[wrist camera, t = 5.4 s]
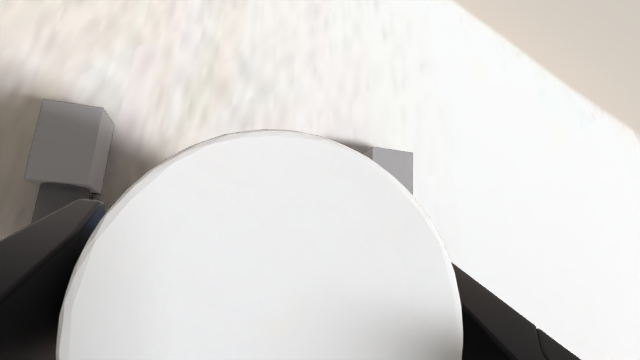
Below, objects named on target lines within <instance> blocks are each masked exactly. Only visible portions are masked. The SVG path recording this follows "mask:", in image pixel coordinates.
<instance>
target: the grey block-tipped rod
mask: <svg viewBox="0 0 640 360" xmlns="http://www.w3.org/2000/svg"><path fill="white" fill-rule="evenodd" d="M363 155H365V156H367V157H368V158H370V159H371V160H373V161H374V162H376V163H377V164H378V165H380V166H381V167H382V168H383V169H385V170H386V171H387V172H389V173H390V174H391V175H392V176H394V177H395V178H396V179H397V180H398V181H399V182H400V183H401V184H402V185H403V186H404V187H405V188H406V189H407V190H408V191H409V192H410V193H411V194H412V195H413V153H411V152H405V151H398V150H392V149H385V148H379V147H372V148H370V149H369V150H368V151H366V152H365V153H363Z"/></svg>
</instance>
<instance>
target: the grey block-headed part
mask: <svg viewBox="0 0 640 360" xmlns="http://www.w3.org/2000/svg"><path fill="white" fill-rule="evenodd" d="M113 129H114V123H113V121H112V120H111V118H110V117H109V116H108V114H107V113H106V111H105V110H104V108H102V107H95V106H88V105H81V104H74V103H67V102H60V101H54V100H47V99H43V102H42V106H41V110H40V114H39V119H38V123H37V127H36V131H35V135H34V139H33V143H32V147H31V151H30V155H29V159H28V163H27V168H26V172H25V176H24V179H26V180H29V181H31V182H33V183H35V184H37V185H39V186H40V188H39V193H38V197H37V201H36V206H35V210H34V214H33V218H32V223H31V224H33V223H34V222H36V221H38V220H40V219H42V218H44V217H46V216H48V215H50V214H51V213H53V212H55V211H57V210H59V209H61V208H63V207H65V206H66V205H68V204H70V203H72V202H74V201H76V200H78V199H89V195H90V193H98V194H101V191H102V186H103V181H104V176H105V171H106V166H107V160H108V155H109V150H110V145H111V140H112V135H113Z"/></svg>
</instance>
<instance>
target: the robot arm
mask: <svg viewBox="0 0 640 360" xmlns="http://www.w3.org/2000/svg"><path fill="white" fill-rule="evenodd" d="M104 215H105V208H104V204H103V202H102V201H100V200H90V199H78V200H76V201H74V202H72V203H70V204H68V205H66V206H65V207H63V208H61V209H59V210H57V211H55V212H53V213H51V214H50V215H48V216H46V217H44V218H42V219H40V220H38V221H36V222H34V223H33V224H31V225H29V226H27V227H25V228H23V229H21V230H19V231H17V232H16V233H14V234H12V235H10V236H8V237H6V238H4V239H2V240H1V241H0V360H56V343H57V333H58V324H59V315H60V311H61V307H62V304H63V300H64V297H65V293H66V290H67V287H68V284H69V281H70V278H71V275H72V273H73V270H74V267H75V265H76V263H77V261H78V259H79V257H80V255H81V253H82V251H83V249H84V247H85V245H86V243H87V241H88V239H89V238H90V236H91V234H92V233H93V231H94V230H95V228H96V227H97V225H98V223H99V222H100V220H101V219H102V218H103V216H104ZM451 264H452V267H453V270H454V272H455V277H456V282H457V287H458V292H459V297H460V302H461V309H462V324H463V349H462V360H581V359H579V358H578V357H577V356H575V355H574V354H573V353H571V352H570V351H568V350H567V349H566V348H564V347H563V346H562V345H560V344H559V343H558V342H556V341H555V340H554V339H552V338H551V337H550V336H548V335H547V334H546V333H544V332H543V331H542V330H540V329H536V326H535V325H534V324H532V323H531V322H530V321H528V320H527V319H526V318H524V317H523V316H522V315H520V314H519V313H518V312H516V311H515V310H514V309H512V308H511V307H510V306H509V305H507V304H506V303H505V302H503V301H502V300H501V299H499V298H498V297H497V296H495V295H494V294H493V293H491V292H490V291H489V290H487V289H486V288H485V287H483V286H482V285H481V284H479V283H478V282H477V281H475V280H474V279H473V278H471V277H470V276H469V275H468V274H466V273H465V272H464V271H462V270H461V269H460V268H458V267H457V266H456V265H454V264H453V263H452V262H451Z"/></svg>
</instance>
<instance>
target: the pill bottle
mask: <svg viewBox="0 0 640 360" xmlns="http://www.w3.org/2000/svg"><path fill="white" fill-rule="evenodd" d="M462 349H463V324H462V309H461V302H460V297H459V292H458V287H457V282H456V277H455V272H454V270H453V267H452V264H451V261H450V259H449V256H448V254H447V252H446V249H445V247H444V245H443V242H442V240H441V238H440V236H439V234H438V233H437V231H436V229H435V227H434V225H433V224H432V222H431V220H430V218H429V217H428V215H427V214H426V212H425V211H424V210H423V208H422V207H421V206H420V204H419V203H418V202H417V200H416V199H415V198H414V196H413V195H412V194H411V193H410V192H409V191H408V190H407V189H406V188H405V187H404V186H403V185H402V184H401V183H400V182H399V181H398V180H397V179H396V178H395V177H394V176H392V175H391V174H390V173H389V172H387V171H386V170H385V169H383V168H382V167H381V166H380V165H378V164H377V163H376V162H374V161H373V160H371V159H370V158H368V157H367V156H365V155H363V154H361V153H359V152H358V151H355V150H353V149H351V148H349V147H347V146H345V145H343V144H341V143H338V142H336V141H333V140H331V139H328V138H324V137H321V136H318V135H313V134H307V133H302V132H298V131H290V130H268V129H263V130H253V131H244V132H237V133H231V134H224V135H221V136H218V137H215V138H212V139H210V140H207V141H204V142H201V143H198V144H195V145H193V146H190V147H188V148H186V149H184V150H182V151H180V152H178V153H176V154H175V155H173V156H171V157H169V158H167V159H166V160H164V161H163V162H161V163H160V164H158V165H157V166H155V167H154V168H152V169H151V170H149V171H148V172H147V173H145V174H144V175H143V176H142V177H141V178H140V179H138V180H137V181H136V182H135V183H134V184H133V185H131V186H130V187H129V188H128V189H127V190H126V191H125V192H124V193H123V194H122V195H121V197H120V198H119V199H118V200H117V201H116V202H115V203H114V204H113V206H112V207H111V208H110V209H109V210H108V212H107V213H106V214H105V215H104V216H103V218H102V219H101V220H100V222H99V223H98V225H97V227H96V228H95V230H94V231H93V233H92V234H91V236H90V238H89V239H88V241H87V243H86V245H85V247H84V249H83V251H82V253H81V255H80V257H79V259H78V261H77V263H76V265H75V267H74V270H73V273H72V275H71V278H70V281H69V284H68V287H67V290H66V293H65V297H64V300H63V304H62V307H61V311H60V315H59V324H58V333H57V343H56V360H462Z"/></svg>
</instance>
